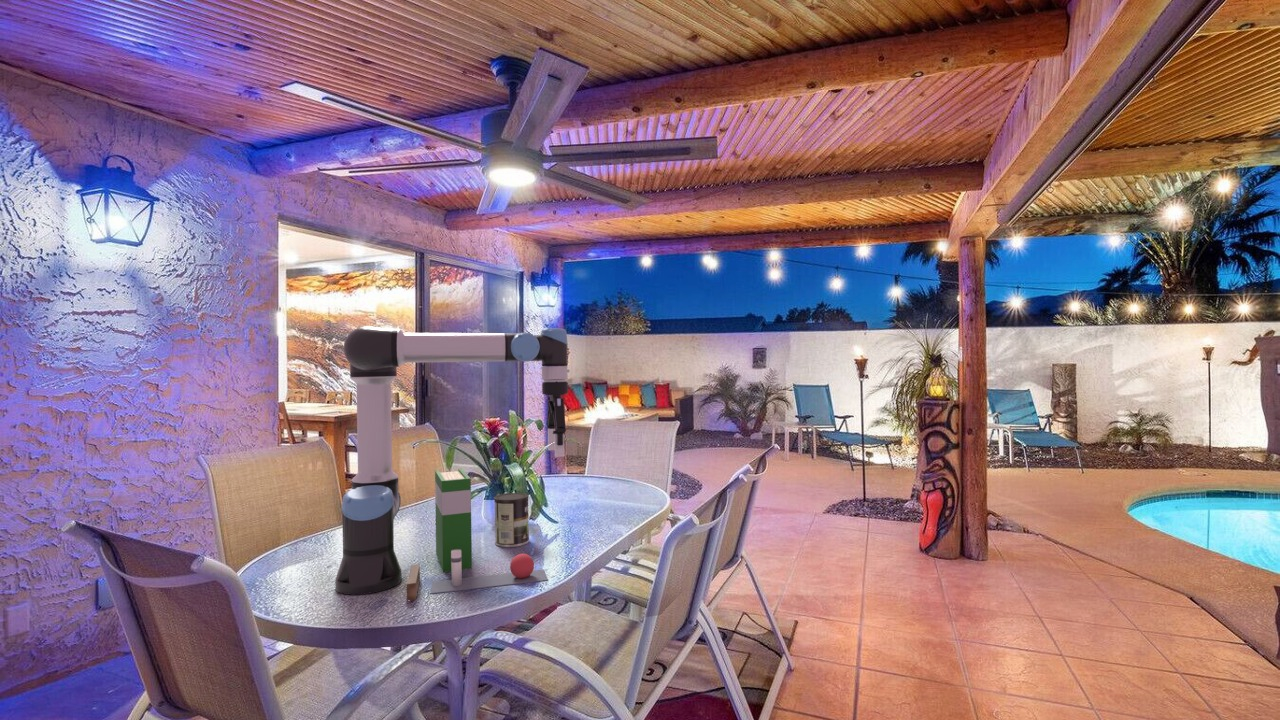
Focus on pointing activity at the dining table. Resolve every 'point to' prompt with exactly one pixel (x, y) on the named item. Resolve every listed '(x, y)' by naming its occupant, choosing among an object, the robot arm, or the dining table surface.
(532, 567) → the ball
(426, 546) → the dining table surface
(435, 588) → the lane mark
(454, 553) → the pin
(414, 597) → the stopper wall
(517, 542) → the coffee can
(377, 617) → the dining table surface
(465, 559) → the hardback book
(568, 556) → the dining table surface
